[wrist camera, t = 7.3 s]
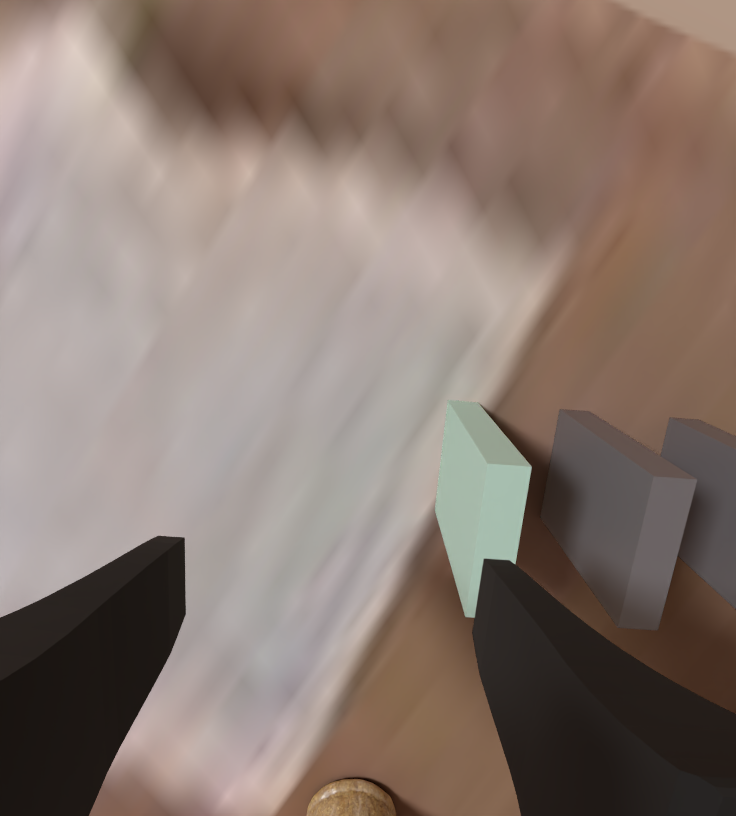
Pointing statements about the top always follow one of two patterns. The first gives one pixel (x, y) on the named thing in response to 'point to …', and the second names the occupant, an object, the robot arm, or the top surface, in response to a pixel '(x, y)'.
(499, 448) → the green domino
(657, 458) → the domino
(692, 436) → the domino
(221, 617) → the top surface
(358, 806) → the sprinkles bottle
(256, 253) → the top surface
